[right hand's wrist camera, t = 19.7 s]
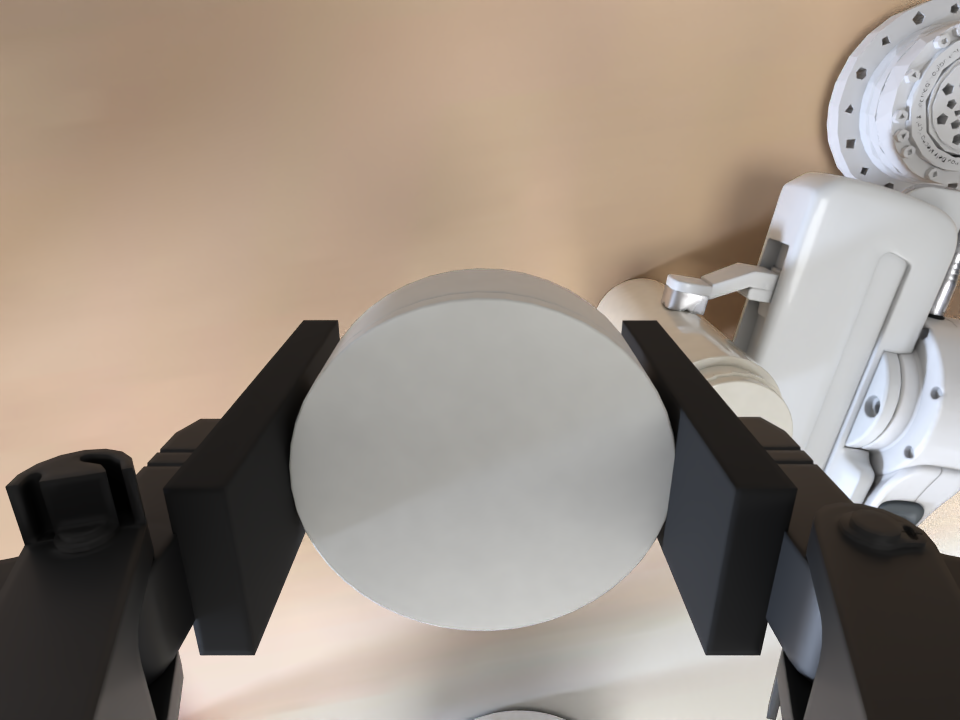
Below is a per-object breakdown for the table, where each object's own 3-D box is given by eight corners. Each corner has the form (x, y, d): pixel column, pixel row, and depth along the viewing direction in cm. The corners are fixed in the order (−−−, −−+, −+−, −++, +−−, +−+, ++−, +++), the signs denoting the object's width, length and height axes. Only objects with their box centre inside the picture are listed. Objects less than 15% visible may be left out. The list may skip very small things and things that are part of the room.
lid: (515, 608, 14) (520, 682, 12) (257, 461, 12) (220, 521, 10) (717, 395, 12) (759, 446, 10) (439, 192, 10) (430, 210, 8)
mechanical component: (848, 231, 36) (1029, 153, 34) (895, 243, 32) (1103, 157, 30) (802, 57, 33) (999, -37, 31) (848, 46, 28) (1078, -62, 27)
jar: (650, 259, 37) (755, 342, 22) (700, 327, 38) (829, 447, 24) (575, 315, 38) (630, 429, 23) (627, 379, 39) (708, 523, 25)
